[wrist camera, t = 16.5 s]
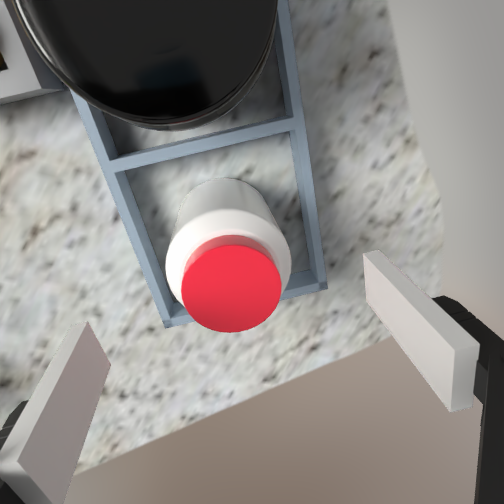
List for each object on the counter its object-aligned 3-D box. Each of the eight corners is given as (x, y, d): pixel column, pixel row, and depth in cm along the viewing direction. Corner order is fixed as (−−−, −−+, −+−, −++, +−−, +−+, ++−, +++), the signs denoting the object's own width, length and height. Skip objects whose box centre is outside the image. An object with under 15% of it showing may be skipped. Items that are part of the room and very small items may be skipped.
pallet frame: (20, -73, 20) (-4, -95, 18) (259, -128, 20) (266, -157, 18) (168, 311, 31) (165, 328, 29) (319, 274, 32) (327, 288, 29)
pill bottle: (163, 245, 29) (137, 323, 19) (200, 160, 26) (194, 199, 16) (245, 278, 31) (262, 364, 21) (287, 202, 28) (328, 259, 18)
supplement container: (103, -97, 20) (-26, -331, 9) (275, -27, 22) (337, -148, 11) (85, 95, 24) (-22, 94, 13) (232, 138, 26) (249, 168, 15)
